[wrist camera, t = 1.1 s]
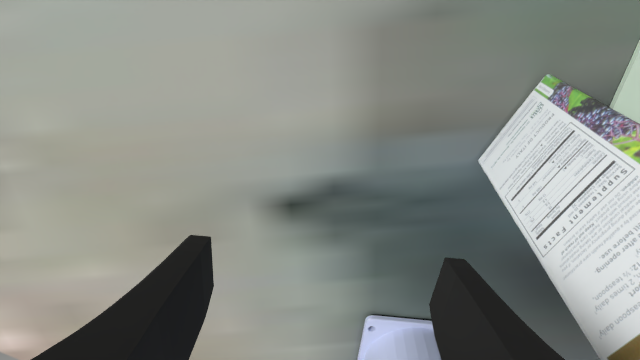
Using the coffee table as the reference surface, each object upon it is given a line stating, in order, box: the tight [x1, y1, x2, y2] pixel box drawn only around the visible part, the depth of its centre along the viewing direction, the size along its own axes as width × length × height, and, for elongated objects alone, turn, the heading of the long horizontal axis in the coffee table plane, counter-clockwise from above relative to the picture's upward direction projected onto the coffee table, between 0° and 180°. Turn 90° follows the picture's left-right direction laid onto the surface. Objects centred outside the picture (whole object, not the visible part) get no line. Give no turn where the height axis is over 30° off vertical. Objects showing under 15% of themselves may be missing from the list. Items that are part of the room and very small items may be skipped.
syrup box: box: [478, 74, 640, 360], centre depth 15 cm, size 6×6×14 cm
